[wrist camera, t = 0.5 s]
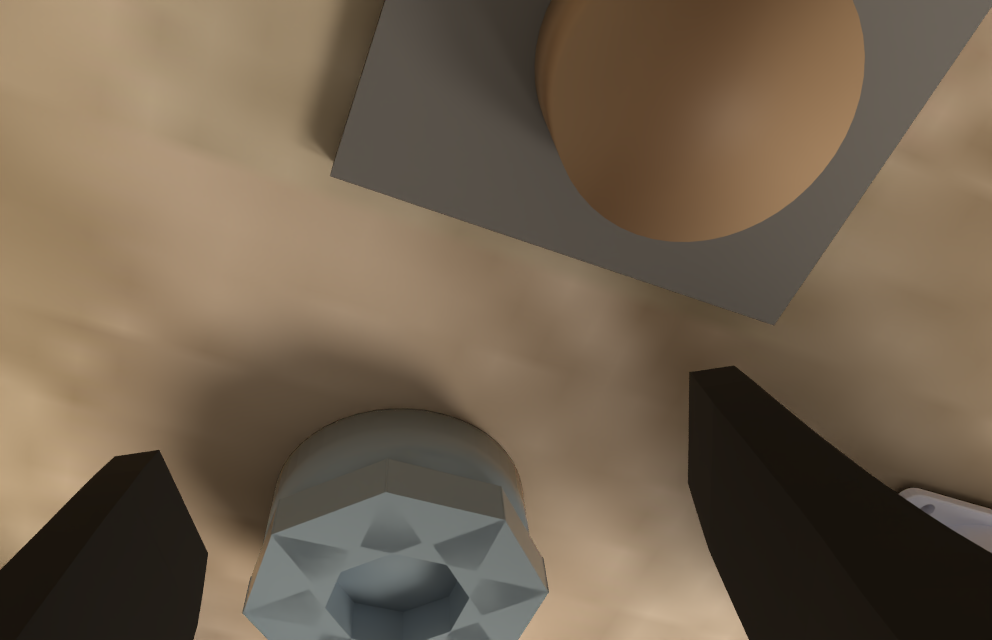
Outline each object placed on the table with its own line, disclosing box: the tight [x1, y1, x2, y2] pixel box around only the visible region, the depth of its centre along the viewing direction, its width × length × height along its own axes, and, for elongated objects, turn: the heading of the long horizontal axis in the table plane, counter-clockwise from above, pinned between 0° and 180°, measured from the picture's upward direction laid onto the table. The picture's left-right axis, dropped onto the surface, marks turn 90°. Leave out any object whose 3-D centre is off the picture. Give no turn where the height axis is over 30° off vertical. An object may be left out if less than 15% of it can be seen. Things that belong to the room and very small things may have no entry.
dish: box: [242, 409, 549, 640], centre depth 23 cm, size 8×8×4 cm
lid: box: [534, 0, 865, 242], centre depth 16 cm, size 6×6×3 cm
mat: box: [330, 0, 992, 325], centre depth 17 cm, size 12×10×1 cm
